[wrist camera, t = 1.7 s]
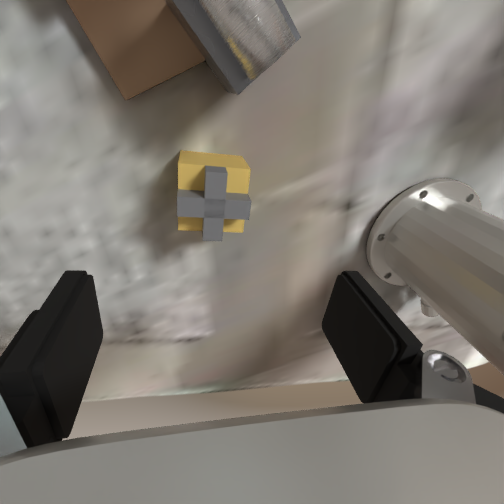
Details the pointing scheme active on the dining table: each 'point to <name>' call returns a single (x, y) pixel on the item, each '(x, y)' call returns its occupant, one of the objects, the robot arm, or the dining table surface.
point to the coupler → (212, 193)
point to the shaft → (237, 36)
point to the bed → (137, 41)
